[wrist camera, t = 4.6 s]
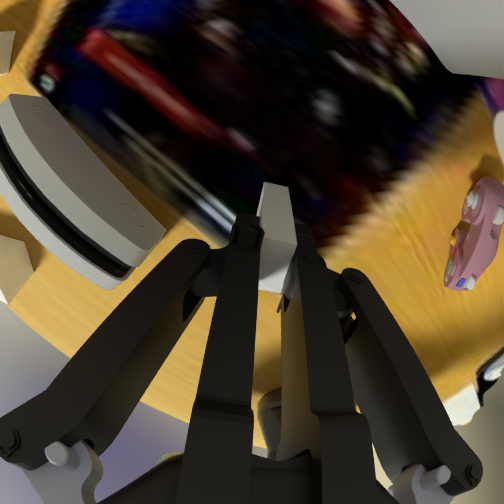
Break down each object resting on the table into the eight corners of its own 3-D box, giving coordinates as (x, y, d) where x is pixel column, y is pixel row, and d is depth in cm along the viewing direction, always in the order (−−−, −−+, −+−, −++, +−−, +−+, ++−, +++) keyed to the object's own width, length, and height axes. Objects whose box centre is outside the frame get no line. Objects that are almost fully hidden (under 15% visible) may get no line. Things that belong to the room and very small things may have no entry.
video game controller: (462, 161, 17) (482, 182, 12) (502, 179, 15) (530, 205, 10) (432, 256, 22) (435, 300, 17) (469, 269, 20) (478, 315, 15)
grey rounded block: (23, 139, 16) (-48, 145, 7) (53, 98, 15) (-14, 81, 6) (135, 262, 23) (107, 330, 14) (170, 226, 22) (157, 280, 13)
